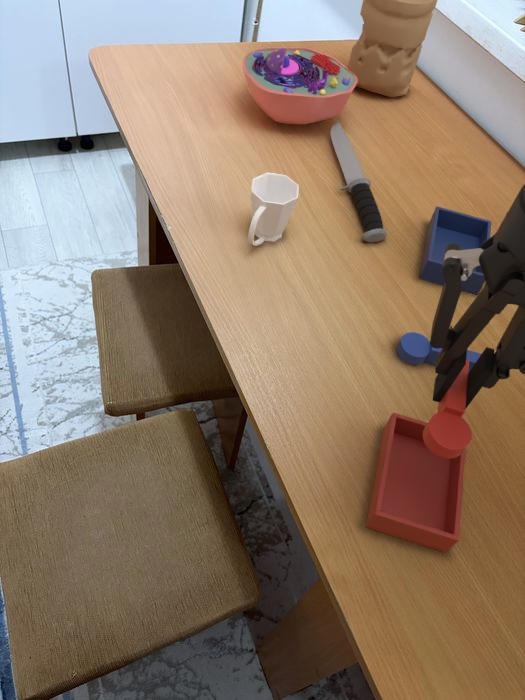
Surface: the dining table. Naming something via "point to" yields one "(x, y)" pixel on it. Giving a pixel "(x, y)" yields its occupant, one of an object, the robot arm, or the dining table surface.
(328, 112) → the cell model
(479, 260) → the robot arm
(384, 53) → the container
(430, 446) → the red spoon
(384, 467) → the red bin
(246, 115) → the dining table surface
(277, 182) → the cup
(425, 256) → the blue bin
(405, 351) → the blue spoon
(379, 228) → the knife
